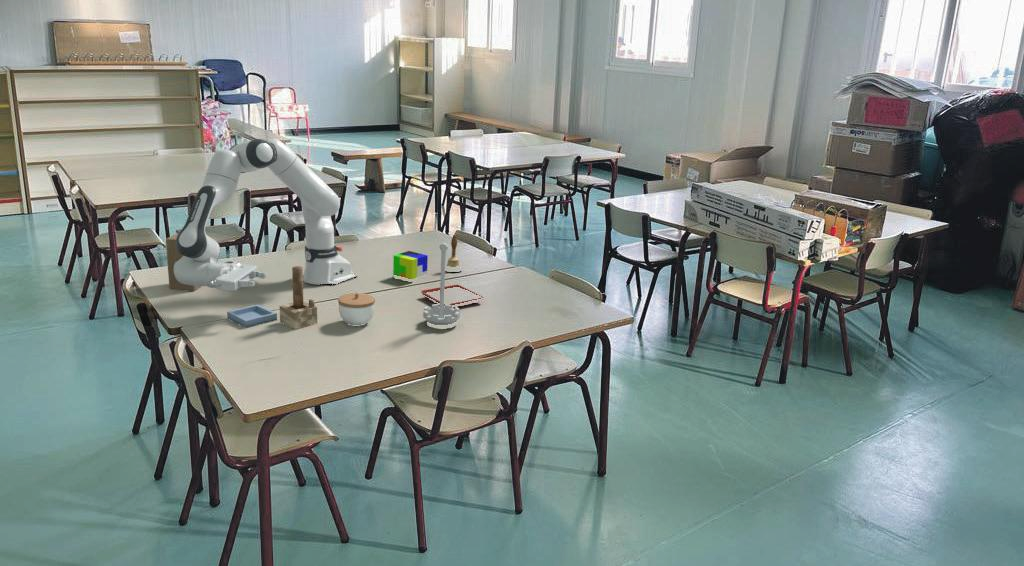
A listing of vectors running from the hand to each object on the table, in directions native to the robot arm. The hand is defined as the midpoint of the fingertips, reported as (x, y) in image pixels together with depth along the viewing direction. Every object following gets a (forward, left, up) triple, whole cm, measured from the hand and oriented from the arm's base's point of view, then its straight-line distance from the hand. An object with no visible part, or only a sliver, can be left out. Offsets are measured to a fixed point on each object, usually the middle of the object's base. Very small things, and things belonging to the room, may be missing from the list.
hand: (259, 279), depth 272 cm
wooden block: (+1, -48, -15) cm, 50 cm away
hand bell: (-95, +1, -15) cm, 96 cm away
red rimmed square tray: (-65, +29, -15) cm, 73 cm away
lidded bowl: (-23, +24, -15) cm, 36 cm away
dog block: (-8, +11, -14) cm, 20 cm away
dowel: (-8, +11, -12) cm, 18 cm away
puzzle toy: (-73, -3, -15) cm, 74 cm away
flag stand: (-45, +44, -15) cm, 64 cm away
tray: (+2, -2, -14) cm, 15 cm away
